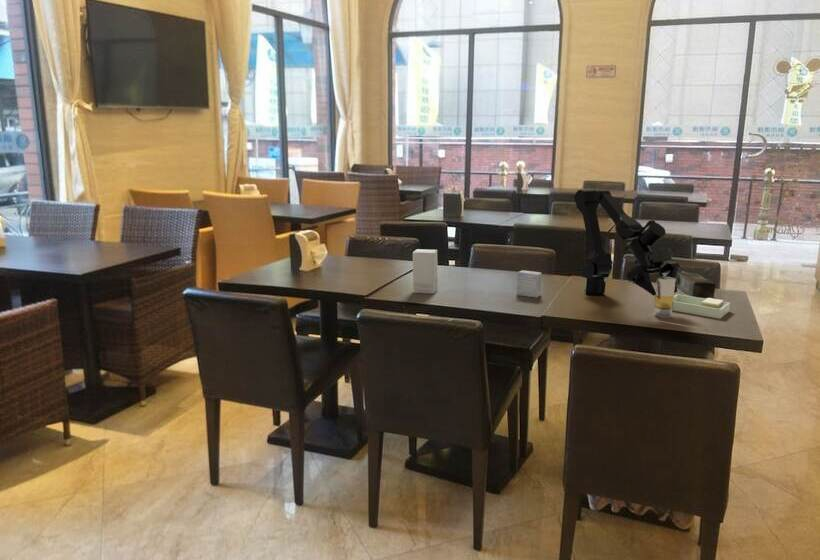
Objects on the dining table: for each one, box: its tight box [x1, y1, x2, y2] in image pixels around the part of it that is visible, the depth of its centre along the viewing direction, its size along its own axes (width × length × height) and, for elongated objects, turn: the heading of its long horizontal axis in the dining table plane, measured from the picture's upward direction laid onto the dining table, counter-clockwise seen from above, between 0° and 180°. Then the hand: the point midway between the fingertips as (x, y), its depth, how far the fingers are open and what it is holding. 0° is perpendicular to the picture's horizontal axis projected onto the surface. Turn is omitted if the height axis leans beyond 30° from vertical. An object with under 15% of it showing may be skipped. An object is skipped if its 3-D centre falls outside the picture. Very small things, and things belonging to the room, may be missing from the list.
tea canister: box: [653, 275, 677, 319], centre depth 209 cm, size 6×6×13 cm
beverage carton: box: [676, 271, 716, 299], centre depth 242 cm, size 8×19×7 cm, turn 176°
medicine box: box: [516, 270, 543, 299], centre depth 234 cm, size 8×4×9 cm, turn 59°
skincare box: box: [412, 248, 439, 295], centre depth 237 cm, size 8×7×16 cm
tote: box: [672, 293, 731, 320], centre depth 216 cm, size 17×11×4 cm, turn 51°
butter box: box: [701, 298, 725, 309], centre depth 213 cm, size 5×7×4 cm
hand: (665, 293), depth 208 cm, fingers open, 9 cm apart
